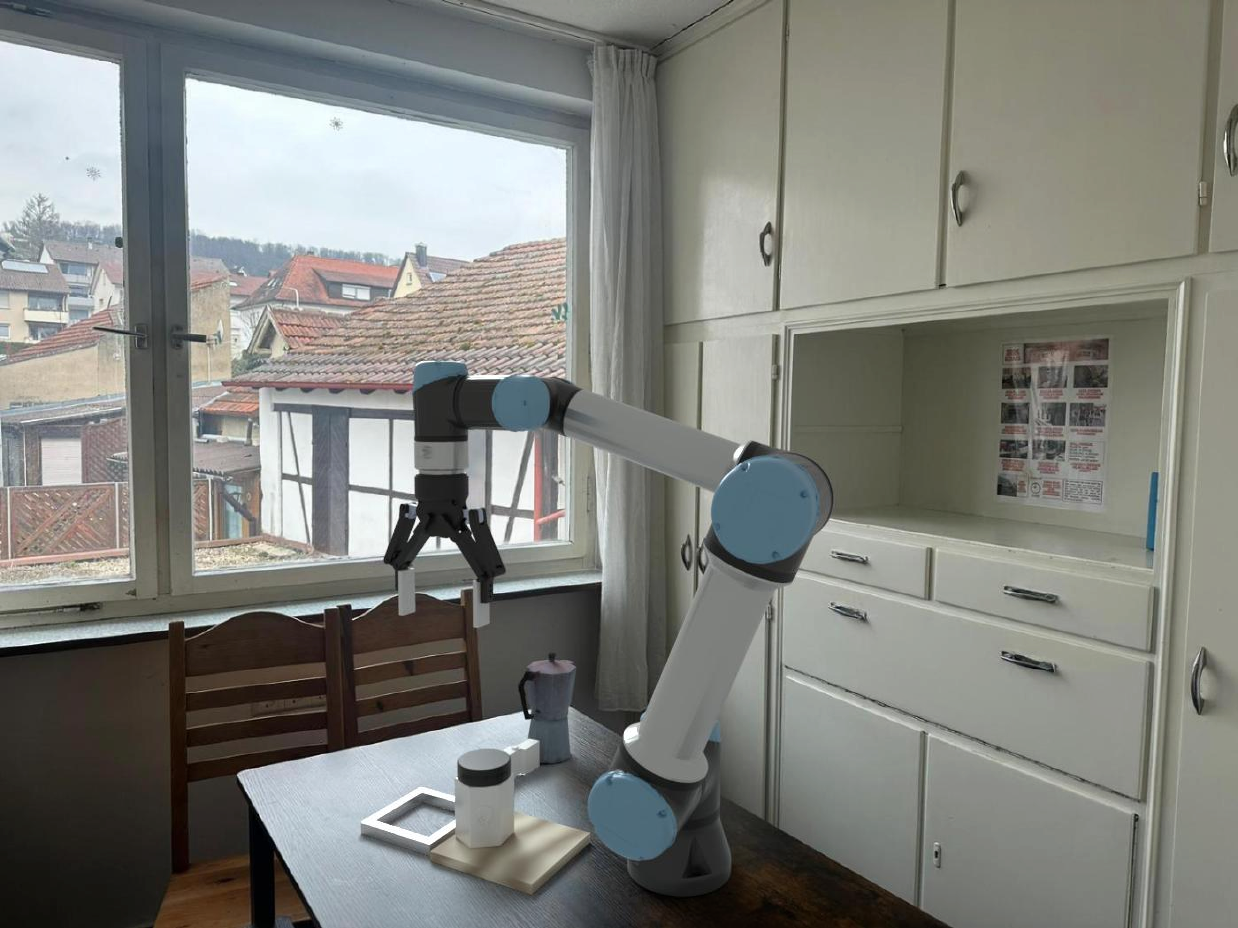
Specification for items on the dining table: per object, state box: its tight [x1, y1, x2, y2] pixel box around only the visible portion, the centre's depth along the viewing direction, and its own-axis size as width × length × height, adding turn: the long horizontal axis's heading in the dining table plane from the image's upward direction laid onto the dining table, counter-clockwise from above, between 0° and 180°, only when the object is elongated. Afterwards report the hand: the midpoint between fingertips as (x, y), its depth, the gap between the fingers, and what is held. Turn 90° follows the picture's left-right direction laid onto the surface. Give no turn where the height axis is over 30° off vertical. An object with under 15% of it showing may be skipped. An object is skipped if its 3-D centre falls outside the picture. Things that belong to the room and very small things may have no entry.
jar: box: [454, 748, 515, 848], centre depth 130 cm, size 9×8×12 cm
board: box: [429, 810, 591, 896], centre depth 129 cm, size 18×16×2 cm
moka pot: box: [517, 651, 577, 764], centre depth 162 cm, size 10×15×20 cm, turn 148°
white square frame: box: [360, 786, 455, 857], centre depth 137 cm, size 14×14×2 cm
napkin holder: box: [502, 738, 541, 779], centre depth 155 cm, size 15×11×6 cm
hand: (443, 619), depth 122 cm, fingers open, 13 cm apart
